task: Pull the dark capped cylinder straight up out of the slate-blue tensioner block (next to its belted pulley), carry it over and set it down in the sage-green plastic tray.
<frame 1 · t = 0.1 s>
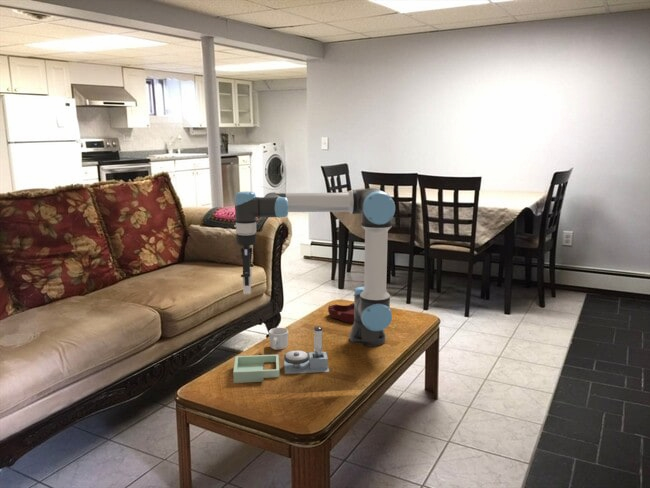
hand: (247, 288, 205), 28 cm above the table, fingers open, 13 cm apart
dark capped cylinder: (318, 365, 199), point 1 cm above the table, touching tensioner block
tray: (257, 373, 196), on the table
tensioner block: (306, 369, 199), on the table
cup: (277, 351, 217), on the table
ashtray: (348, 319, 255), on the table
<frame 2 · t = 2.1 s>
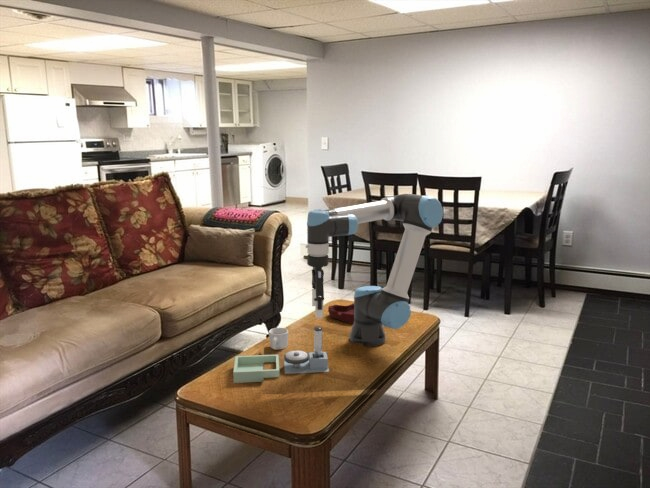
hand: (317, 311, 195), 22 cm above the table, fingers open, 13 cm apart
nothing on the table moved.
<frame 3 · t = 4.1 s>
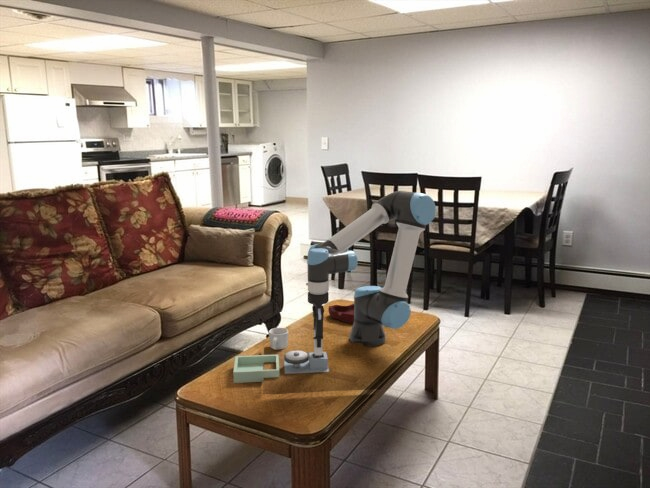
hand: (318, 352, 198), 7 cm above the table, fingers closed on dark capped cylinder, 3 cm apart
dark capped cylinder: (318, 365, 199), point 1 cm above the table, touching gripper, tensioner block
everything else where it was.
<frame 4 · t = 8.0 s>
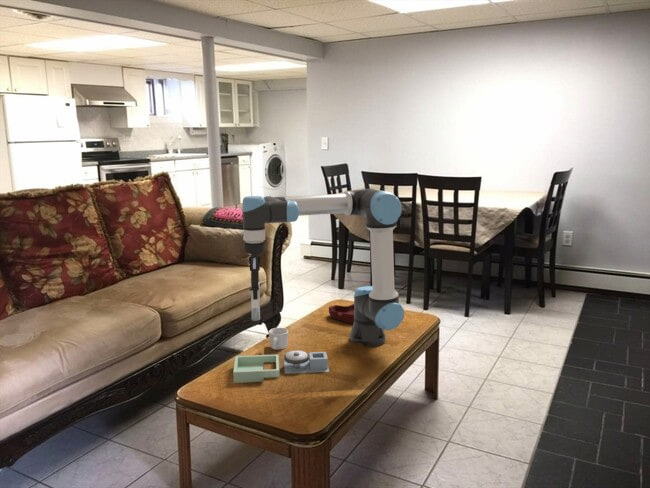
hand: (255, 305, 191), 26 cm above the table, fingers closed on dark capped cylinder, 3 cm apart
dark capped cylinder: (255, 319, 192), point 21 cm above the table, touching gripper
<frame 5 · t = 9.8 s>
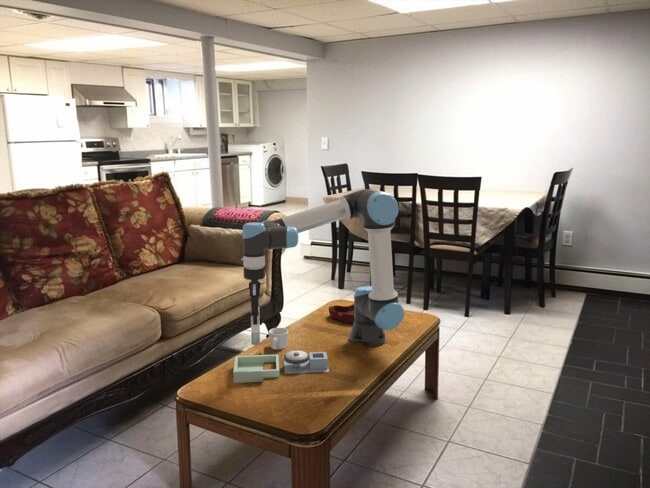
hand: (255, 330, 193), 16 cm above the table, fingers closed on dark capped cylinder, 3 cm apart
dark capped cylinder: (255, 343, 194), point 11 cm above the table, touching gripper
when the fingers open (7 cm above the table, at t = 11.7 s): dark capped cylinder stays where it is, resting on tray.
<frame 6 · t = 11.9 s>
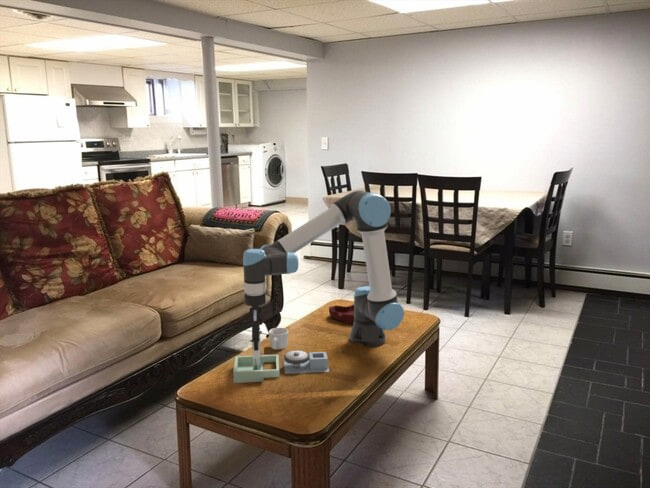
hand: (256, 354, 195), 7 cm above the table, fingers open, 5 cm apart
dark capped cylinder: (256, 370, 196), point 1 cm above the table, touching tray
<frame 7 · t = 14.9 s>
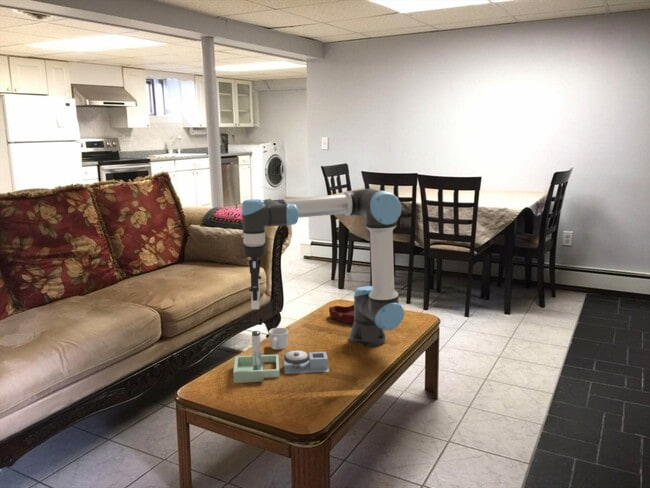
hand: (255, 302, 191), 27 cm above the table, fingers open, 13 cm apart
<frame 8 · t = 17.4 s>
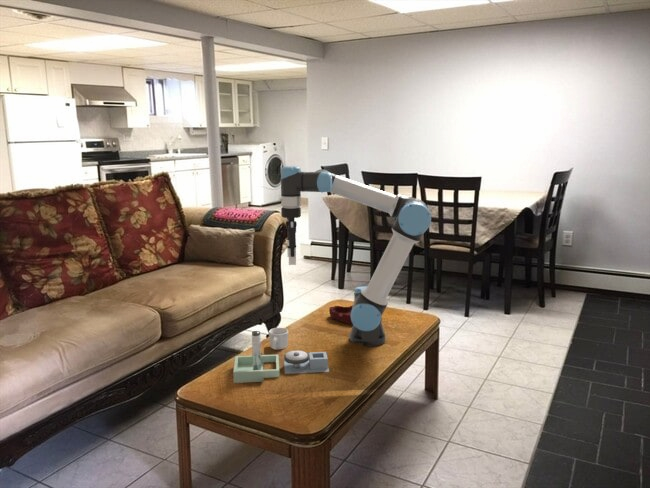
hand: (291, 260, 212), 37 cm above the table, fingers open, 13 cm apart
at the end: dark capped cylinder inside the target area on the tray (0.1 cm from its centre), point 1.0 cm above the tray's base; the gripper is holding nothing; dark capped cylinder moved 22.5 cm from its start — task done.
